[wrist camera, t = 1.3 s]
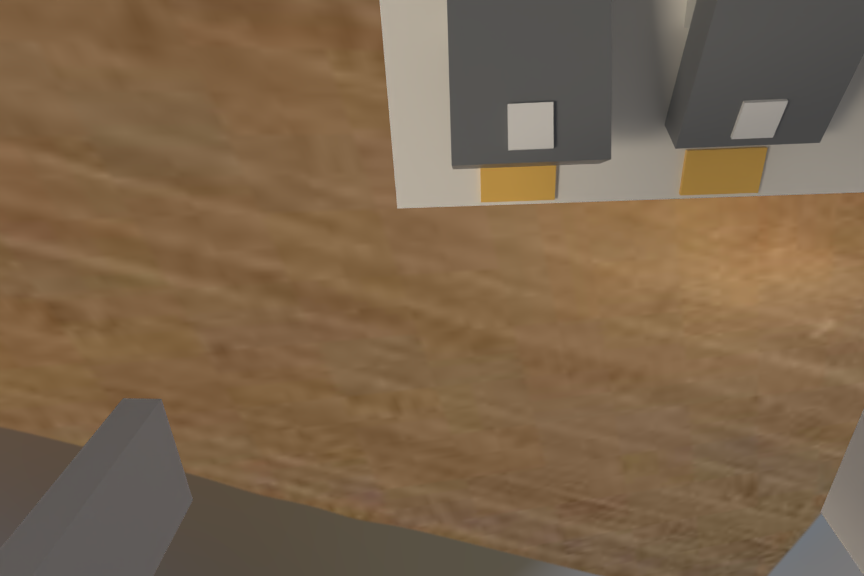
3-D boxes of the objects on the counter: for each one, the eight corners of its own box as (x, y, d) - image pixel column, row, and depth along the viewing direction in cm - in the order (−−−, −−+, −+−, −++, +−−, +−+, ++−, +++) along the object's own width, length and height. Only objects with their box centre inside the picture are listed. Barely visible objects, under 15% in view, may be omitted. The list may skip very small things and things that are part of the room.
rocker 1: (445, -111, 19) (442, -144, 17) (600, -123, 18) (614, -158, 17) (453, 169, 20) (451, 165, 18) (599, 163, 20) (612, 158, 18)
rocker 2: (742, -176, 15) (766, -163, 14) (942, -192, 15) (983, -180, 14) (664, 124, 22) (676, 150, 21) (801, 118, 21) (821, 145, 20)
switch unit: (381, -181, 22) (353, -237, 17) (1108, -241, 20) (1347, -327, 15) (408, 174, 29) (394, 218, 23) (962, 153, 27) (1091, 195, 21)
